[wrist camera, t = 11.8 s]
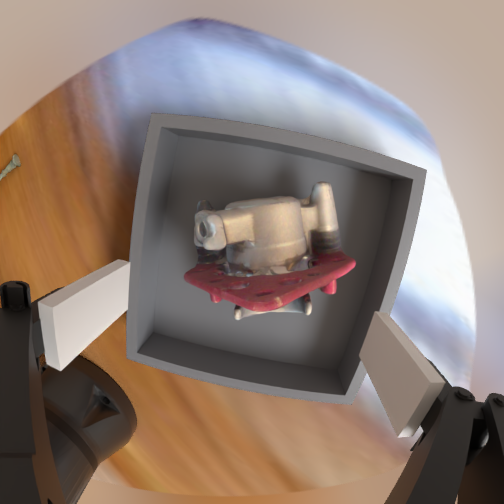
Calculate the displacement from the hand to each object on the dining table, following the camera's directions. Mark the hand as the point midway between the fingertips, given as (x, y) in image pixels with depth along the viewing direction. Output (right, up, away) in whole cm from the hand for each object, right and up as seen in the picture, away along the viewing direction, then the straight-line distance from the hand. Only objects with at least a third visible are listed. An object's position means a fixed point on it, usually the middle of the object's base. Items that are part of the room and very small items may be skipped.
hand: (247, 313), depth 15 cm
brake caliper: (+2, +3, +9) cm, 10 cm away
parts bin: (+1, +2, +11) cm, 11 cm away
